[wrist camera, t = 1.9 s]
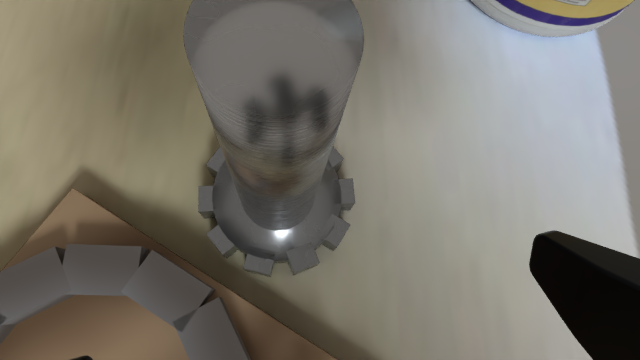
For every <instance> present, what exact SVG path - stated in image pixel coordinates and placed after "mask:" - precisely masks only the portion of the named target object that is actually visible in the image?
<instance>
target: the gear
mask: <svg viewBox="0 0 640 360" xmlns="http://www.w3.org/2000/svg"><path fill="white" fill-rule="evenodd" d="M363 44H364V36H363V28H362V23H361V19H360V17H359V14H358V12H357V10H356V8H355V6H354V4H353V3H352V1H351V0H193V2H192V3H191V5H190V7H189V10H188V12H187V15H186V19H185V24H184V46H185V50H186V54H187V57H188V60H189V63H190V65H191V68H192V71H193V73H194V76H195V79H196V82H197V84H198V87H199V90H200V92H201V95H202V98H203V100H204V103H205V106H206V109H207V111H208V114H209V117H210V119H211V122H212V125H213V128H214V130H215V133H216V136H217V138H218V141H219V144H220V147H219V148H218V150H217V151H216V152H215V154H214V155H213V156H212V158H211V159H210V160H209V162H208V163H207V164H206V166H207V168H208V170H209V171H210V173H211V175H213V176H214V177H216V178H215V181H214V185H213V186H199V213H200V214H201V215H202V216H203V218H216V220H217V223H218V225H217V226H216V227H215V228H213V229H212V230H211V231H209V232H208V233H207V236H208V237H209V238H210V239H211V241H212V242H213V243H214V244H215V246H216V247H217V248H218V250H219V251H220V252H221V253H222V255H223V256H225V257H226V258H228V257H229V256H231V255H232V254H233V253H234V252H236V251H237V250H239V251H241V252H242V253H243V254H245V255H247V257H246V260H245V263H244V267H243V268H244V269H245V270H246V271H249V272H253V273H257V274H261V275H265V276H269V277H271V273H272V269H273V266H274V263H286V262H288V263H289V265H290V268H291V271H292V273H293V275H295V274H297V273H300V272H302V271H305V270H307V269H309V268H312V267H314V266H317V264H318V263H319V260H318V258H317V256H316V253H315V251H314V250H316V249H317V248H318V247H319V246H320V245H321V244H323V245H324V246H326V247H328V248H329V249H331V250H332V251H334V250H335V249H336V248H337V247H338V245H339V243H340V242H341V240H342V238H343V237H344V235H345V233H346V231H347V230H348V228H349V226H350V224H348V223H347V222H345V221H343V220H342V219H340V218H339V217H338V216H339V213H340V210H350V209H351V208H352V207H353V205H354V204H355V196H354V187H353V179H339V178H338V175H337V173H336V171H337V170H338V169H339V168H340V166H341V164H342V161H343V159H344V158H343V157H342V156H341V155H340V154H339V153H338V152H337V151H336V150H335V148H334V147H333V142H334V139H335V136H336V133H337V130H338V127H339V124H340V121H341V118H342V115H343V112H344V109H345V106H346V103H347V100H348V97H349V94H350V91H351V88H352V85H353V82H354V79H355V76H356V73H357V70H358V67H359V63H360V60H361V57H362V52H363Z"/></svg>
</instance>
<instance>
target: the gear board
mask: <svg viewBox="0 0 640 360" xmlns="http://www.w3.org/2000/svg"><path fill="white" fill-rule="evenodd" d="M86 355H88V356H90V357H91V358H92V359H93V360H338V359H336V358H335V357H333V356H332V355H330V354H328V353H327V352H325V351H324V350H322V349H321V348H319V347H318V346H316V345H315V344H313V343H312V342H310V341H308V340H307V339H305V338H304V337H302V336H301V335H299V334H298V333H296V332H295V331H293V330H292V329H290V328H288V327H287V326H285V325H284V324H282V323H281V322H279V321H278V320H276V319H275V318H273V317H272V316H270V315H268V314H267V313H265V312H264V311H262V310H261V309H259V308H258V307H256V306H255V305H253V304H252V303H250V302H248V301H247V300H245V299H244V298H242V297H241V296H239V295H238V294H236V293H235V292H233V291H231V290H230V289H228V288H227V287H225V286H224V285H222V284H221V283H219V282H218V281H216V280H215V279H213V278H211V277H210V276H208V275H207V274H205V273H204V272H202V271H201V270H199V269H198V268H196V267H195V266H193V265H191V264H190V263H188V262H187V261H185V260H184V259H182V258H181V257H179V256H178V255H176V254H175V253H173V252H171V251H170V250H168V249H167V248H165V247H164V246H162V245H161V244H159V243H158V242H156V241H155V240H153V239H151V238H150V237H148V236H147V235H145V234H144V233H142V232H141V231H139V230H138V229H136V228H134V227H133V226H131V225H130V224H128V223H127V222H125V221H124V220H122V219H121V218H119V217H118V216H116V215H114V214H113V213H111V212H110V211H108V210H107V209H105V208H104V207H102V206H101V205H99V204H98V203H96V202H94V201H93V200H91V199H90V198H88V197H87V196H85V195H84V194H82V193H80V192H78V191H77V190H75V189H73V188H72V189H71V191H70V192H69V193H68V194H67V195H66V196H65V198H64V199H63V200H62V201H61V202H60V203H59V205H58V206H57V207H56V208H55V209H54V210H53V211H52V213H51V214H50V215H49V216H48V217H47V218H46V220H45V221H44V222H43V223H42V224H41V225H40V227H39V228H38V229H37V230H36V231H35V232H34V234H33V235H32V236H31V237H30V238H29V239H28V241H27V242H26V243H25V244H24V245H23V246H22V248H21V249H20V250H19V251H18V252H17V253H16V255H15V256H14V257H13V258H12V259H11V260H10V262H9V263H8V264H7V265H6V266H5V267H4V268H3V270H2V271H0V360H70V359H73V358H77V357H81V356H86Z"/></svg>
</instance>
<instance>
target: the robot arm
mask: <svg viewBox="0 0 640 360" xmlns="http://www.w3.org/2000/svg"><path fill="white" fill-rule="evenodd" d="M529 266H530V271H531V273H532V275H533V277H534V278H535V280H536V281H537V283H538V284H539V286H540V287H541V289H542V290H543V291H544V293H545V294H546V296H547V297H548V299H549V300H550V302H551V303H552V305H553V306H554V308H555V309H556V311H557V312H558V314H559V315H560V317H561V318H562V320H563V321H564V322H565V324H566V325H567V327H568V328H569V330H570V331H571V332H572V334H573V335H574V337H575V338H576V339H577V340H578V342H579V343H580V344H581V345H582V347H583V348H584V349H585V350H586V352H587V353H588V354H589V355H590V357H591V358H592V359H593V360H640V259H639V258H636V257H633V256H630V255H627V254H624V253H621V252H618V251H615V250H612V249H609V248H606V247H603V246H600V245H597V244H594V243H591V242H589V241H586V240H583V239H580V238H577V237H574V236H571V235H568V234H565V233H562V232H559V231H549V232H545V233H541V234H538V235H536V237H535V238H534V241H533V246H532V251H531V257H530V262H529ZM70 360H93V359H92V358H91V357H90V356H88V355H86V356H81V357H77V358H73V359H70Z"/></svg>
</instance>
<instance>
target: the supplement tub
mask: <svg viewBox="0 0 640 360" xmlns="http://www.w3.org/2000/svg"><path fill="white" fill-rule="evenodd" d="M471 1H472V2H473V3H474V4H475V5H476V6H477V7H478V8H480V9H481V10H482V11H483V12H485V13H486V14H487V15H488V16H490V17H491V18H493V19H495V20H496V21H498V22H500V23H502V24H504V25H506V26H508V27H510V28H512V29H515V30H518V31H521V32H524V33H528V34H532V35H537V36H544V37H565V36H573V35H578V34H582V33H585V32H589V31H592V30H594V29H596V28H598V27H600V26H602V25H604V24H605V23H607V22H609V21H610V20H612V19H613V18H615V17H616V16H617V15H619V14H620V13H621V12H622V11H623V10H624V9H625V8H626V7H627V6H628V5H629V4H631V3H632V2H633V1H634V0H471Z"/></svg>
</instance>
